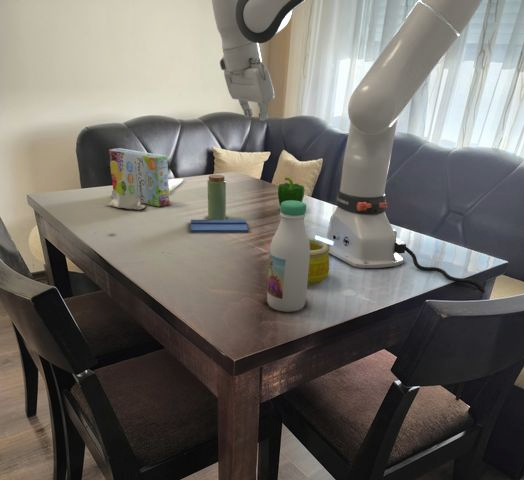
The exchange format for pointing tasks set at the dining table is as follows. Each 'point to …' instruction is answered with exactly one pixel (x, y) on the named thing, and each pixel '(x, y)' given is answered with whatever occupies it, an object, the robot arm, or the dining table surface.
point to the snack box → (140, 175)
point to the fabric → (126, 201)
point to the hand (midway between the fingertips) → (256, 118)
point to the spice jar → (216, 197)
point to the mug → (318, 261)
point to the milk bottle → (289, 260)
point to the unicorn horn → (174, 183)
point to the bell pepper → (290, 191)
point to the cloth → (218, 226)
